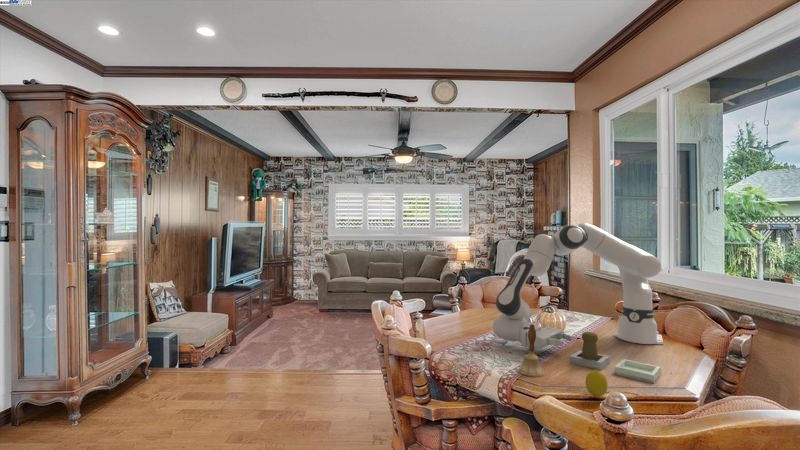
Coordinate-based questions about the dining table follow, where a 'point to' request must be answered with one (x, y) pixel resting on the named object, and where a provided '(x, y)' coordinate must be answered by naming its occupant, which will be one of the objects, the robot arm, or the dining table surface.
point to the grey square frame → (590, 361)
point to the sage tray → (638, 370)
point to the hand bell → (531, 357)
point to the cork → (589, 346)
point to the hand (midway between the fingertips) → (566, 340)
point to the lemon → (596, 383)
